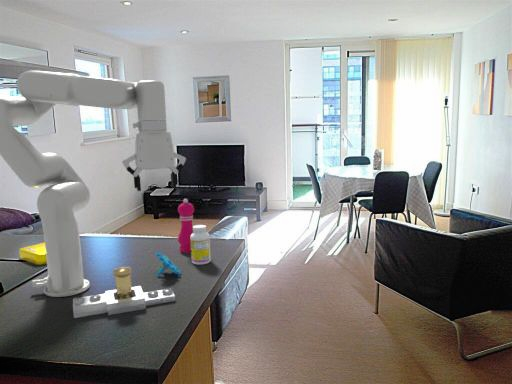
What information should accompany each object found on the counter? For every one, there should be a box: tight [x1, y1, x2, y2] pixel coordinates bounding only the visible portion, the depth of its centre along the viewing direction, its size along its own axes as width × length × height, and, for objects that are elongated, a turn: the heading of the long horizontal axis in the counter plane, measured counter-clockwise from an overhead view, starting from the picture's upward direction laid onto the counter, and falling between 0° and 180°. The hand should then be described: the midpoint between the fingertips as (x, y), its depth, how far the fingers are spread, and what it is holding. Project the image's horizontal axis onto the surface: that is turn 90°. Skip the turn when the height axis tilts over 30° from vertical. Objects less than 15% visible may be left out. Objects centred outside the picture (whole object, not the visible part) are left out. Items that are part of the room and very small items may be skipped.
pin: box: [112, 266, 133, 300], centre depth 122 cm, size 5×5×10 cm
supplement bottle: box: [190, 224, 211, 266], centre depth 157 cm, size 7×7×13 cm
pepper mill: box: [177, 198, 195, 254], centre depth 170 cm, size 7×7×20 cm
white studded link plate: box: [72, 285, 176, 319], centre depth 123 cm, size 26×10×4 cm, turn 111°
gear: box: [155, 251, 182, 277], centre depth 145 cm, size 11×6×10 cm
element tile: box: [18, 241, 47, 266], centre depth 168 cm, size 15×15×5 cm
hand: (156, 189), depth 126 cm, fingers open, 9 cm apart
